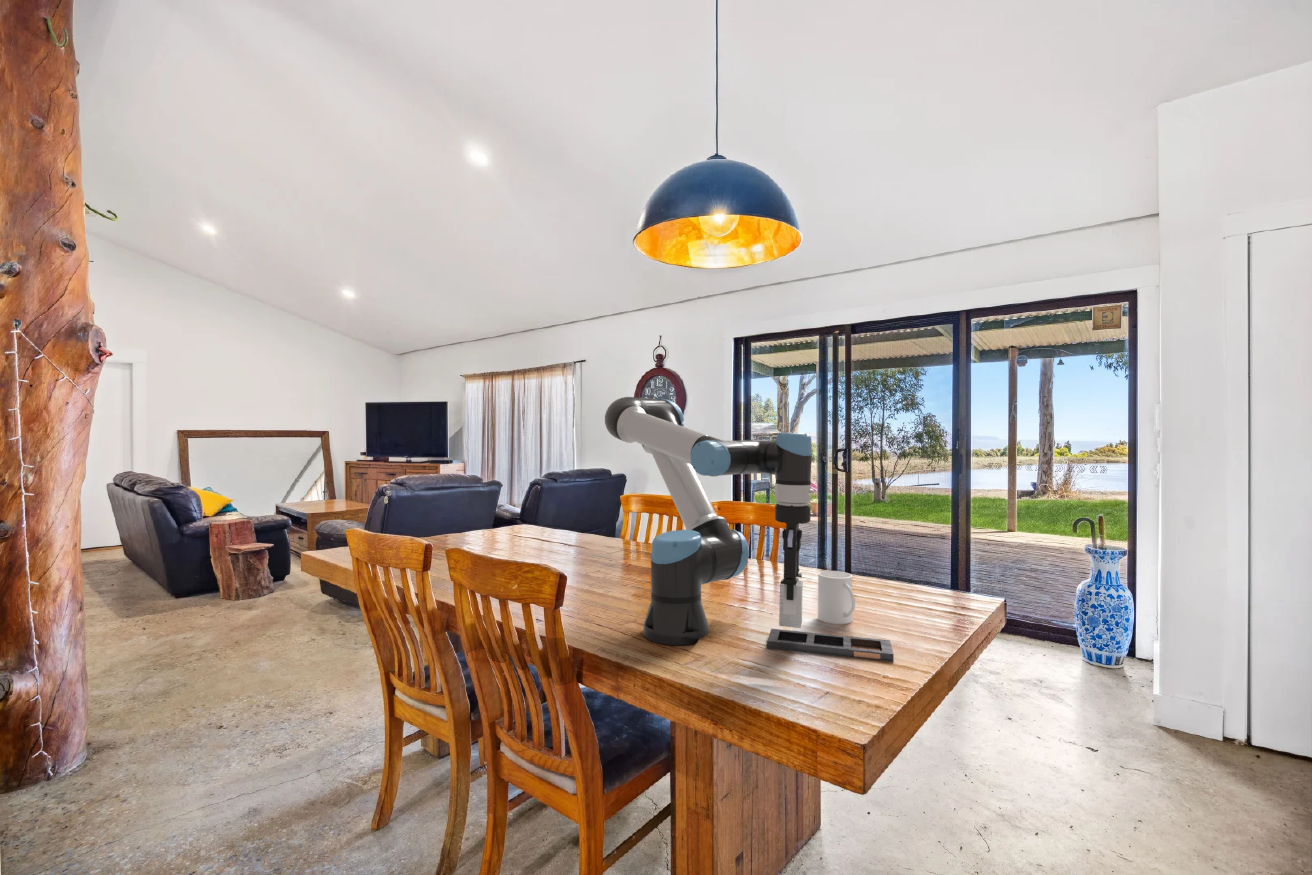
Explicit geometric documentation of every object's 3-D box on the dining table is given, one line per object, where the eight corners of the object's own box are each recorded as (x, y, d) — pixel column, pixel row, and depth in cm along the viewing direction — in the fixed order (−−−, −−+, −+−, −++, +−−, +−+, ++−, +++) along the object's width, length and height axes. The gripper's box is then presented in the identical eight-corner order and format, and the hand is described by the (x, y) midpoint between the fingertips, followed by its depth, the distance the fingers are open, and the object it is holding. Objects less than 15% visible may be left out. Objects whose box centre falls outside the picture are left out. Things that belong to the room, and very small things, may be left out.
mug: (867, 631, 138) (867, 580, 138) (834, 633, 136) (834, 582, 136) (841, 616, 150) (841, 569, 150) (811, 618, 148) (811, 571, 148)
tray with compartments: (767, 652, 124) (767, 641, 124) (771, 639, 132) (771, 628, 132) (893, 666, 117) (893, 654, 117) (889, 651, 125) (889, 640, 125)
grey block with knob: (779, 625, 126) (779, 581, 125) (781, 619, 130) (781, 576, 130) (800, 628, 124) (801, 583, 124) (801, 621, 129) (802, 578, 128)
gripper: (808, 509, 117) (806, 625, 118) (812, 499, 134) (810, 601, 134) (770, 507, 119) (768, 621, 120) (779, 498, 136) (777, 597, 137)
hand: (790, 610), depth 127 cm, fingers closed on grey block with knob, 4 cm apart
